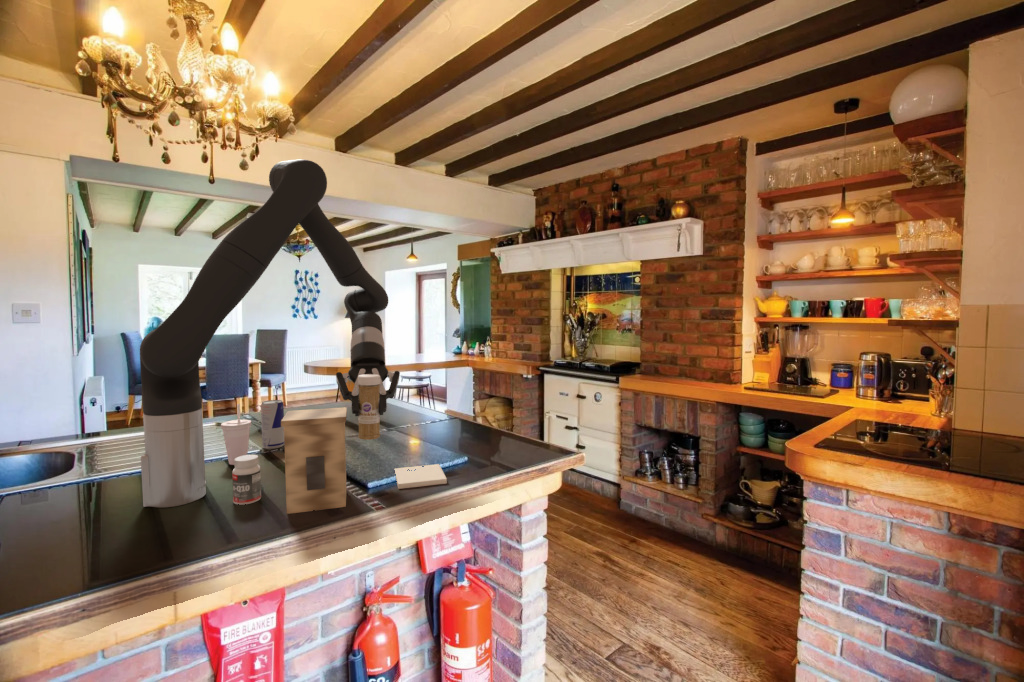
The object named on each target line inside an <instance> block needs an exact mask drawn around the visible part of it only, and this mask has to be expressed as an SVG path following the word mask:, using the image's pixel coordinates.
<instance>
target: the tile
mask: <svg viewBox="0 0 1024 682" xmlns="http://www.w3.org/2000/svg"><path fill="white" fill-rule="evenodd" d="M422 466H424V467H422ZM408 469H409V470H410V471H409V470H408ZM415 469H416V470H415ZM394 470H395V473H394V475H395V474H396V477H395V481H397V482H396V485H397V489H398V490H400V489H401V490H402V489H410V488H417V487H420V488H421V487H427V486H436V485H445V484H448V482H447V481H448V479H447V477H446V475H445V472H444V471H443V469H442V467H441V465H440V464H439V463H435V464H427V465H426V464H425V465H415V466H407V467H397V468H396V467H395V468H394V469H393V471H394ZM407 470H408V471H407ZM411 470H412V471H411ZM414 470H415V471H414Z"/></svg>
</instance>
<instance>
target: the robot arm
mask: <svg viewBox="0 0 1024 682" xmlns="http://www.w3.org/2000/svg"><path fill="white" fill-rule="evenodd" d="M268 177H269V178H268V182H269V187H270V189H271V191H272V193H271V195H270V196H269V198H268V199H267V201H266V202H264V204H262V206H261V207H260V208H259V209H257V210H255V212H254V213H252V214H251V215H249V216H248V217H247V218H245V219H244V220H243V221H241V222H240V223H239V224H237V225H236V226H235V227H234V228H233V229H231V231H229V232H228V233H227V235H225V236H224V237H223V238H222V240H221V241H220V242H219V244H218V245H216V248H215V249H214V250H213V251H212V253H210V255H209V256H208V258H207V259H206V261H205V263H204V264H203V265H202V267H201V269H200V270H199V272H198V274H197V275H196V278H195V280H194V281H193V283H192V285H191V287H190V289H189V291H188V293H187V294H186V295H185V298H183V300H182V301H181V302H180V303H179V305H178V306H177V307H176V308H175V309H174V310H173V311H172V312H171V314H170V315H169V316H168V317H167V318H165V320H164V321H163V322H162V323H161V324H160V325H158V327H157V328H155V329H153V330H151V331H150V332H149V333H147V334H146V335H145V336H144V338H143V339H142V341H141V342H140V346H139V362H140V363H139V366H140V381H141V382H140V383H141V402H142V416H143V434H144V435H143V436H144V437H143V438H144V453H143V454H142V455H141V457H140V471H141V473H140V474H141V488H142V490H141V491H142V506H143V507H144V508H146V507H152V508H170V507H171V508H172V507H178V506H182V505H187V504H190V503H193V502H196V501H199V500H200V499H201V498H203V497H205V495H206V494H207V491H206V490H207V489H206V485H207V483H206V466H205V462H206V461H205V444H204V443H205V442H204V441H205V440H204V422H203V420H204V419H203V400H202V398H203V397H202V396H203V395H202V390H201V383H200V368H199V367H200V365H199V361H200V360H201V357H202V356H203V354H204V352H205V350H206V349H207V347H208V345H209V344H210V341H211V340H212V338H213V337H214V335H215V333H216V332H217V330H218V328H219V327H220V326H221V324H222V323H223V322H224V320H225V319H226V317H228V316H229V314H230V313H231V312H232V311H233V310H234V309H235V308H236V307H237V306H238V304H240V302H241V301H242V300H243V299H244V298H245V297H246V296H247V294H248V293H249V291H250V290H251V289H252V288H253V287H254V286H255V284H257V282H258V281H259V279H260V278H261V277H262V275H263V273H264V272H265V271H266V270H267V268H268V267H269V265H270V264H271V262H272V261H273V259H274V258H275V257H276V256H277V254H278V253H279V251H281V249H282V247H283V246H284V244H285V243H286V242H287V241H288V238H289V237H290V236H291V234H292V233H293V232H294V230H295V229H296V228H297V226H298V225H300V227H301V229H303V231H304V232H305V233H306V234H307V236H308V237H309V239H310V240H311V241H312V243H313V245H315V248H316V249H317V250H318V252H319V254H320V255H321V257H322V258H323V260H324V262H325V263H326V264H327V266H328V268H329V270H330V271H331V273H332V274H333V276H334V278H335V280H336V281H337V283H338V284H339V285H340V286H341V287H345V288H346V287H359V288H357V289H354V290H351V291H349V292H348V293H346V295H345V297H344V300H343V303H344V307H345V309H346V312H347V315H348V316H349V320H350V324H351V340H350V367H349V370H348V372H344V373H342V372H341V371H338V372H336V373H335V378H336V379H335V380H336V383H337V387H338V389H339V392H340V395H341V397H342V400H344V401H347V400H348V401H350V402H351V413H352V414H353V415H354V416H355V417H358V416H359V386H358V385H359V384H358V376H359V375H363V374H377V375H380V393H379V398H380V416H383V415H384V413H386V412H387V407H388V406H387V400H388V399H394V397H395V395H396V391H397V388H398V384H399V381H400V374H401V373H400V371H399V370H395V371H394V372H392V371H389V370H388V368H387V366H386V356H385V355H386V353H385V351H386V350H385V340H384V336H383V335H384V334H383V322H382V319H381V317H380V315H379V314H378V312H382V311H384V310H385V309H387V308H388V305H389V296H388V294H387V291H386V290H385V288H384V287H383V286H382V284H380V283H379V282H378V281H377V280H376V279H375V278H374V277H373V276H372V275H371V274H370V273H369V272H368V271H367V270H366V268H365V267H364V265H363V263H362V261H361V260H360V259H359V256H358V255H357V253H356V251H355V249H354V247H353V246H352V244H351V243H350V242H349V241H348V240H347V239H346V237H345V235H343V234H342V233H341V232H340V230H338V228H337V227H335V225H334V224H333V223H332V222H331V221H330V220H329V219H328V217H327V216H326V214H325V213H324V211H323V210H322V208H321V206H320V205H319V203H320V202H321V201H322V199H323V198H324V196H325V194H326V192H327V189H328V179H327V175H326V172H325V170H324V168H322V166H321V165H320V164H318V163H317V162H315V161H313V160H309V159H303V158H302V159H301V158H297V159H289V160H283V161H282V160H281V161H279V162H276V163H275V164H274V165H273V166H272V168H271V169H270V172H269V175H268ZM387 378H388V381H389V382H390V385H389V387H388V389H385V386H384V381H386V379H387ZM348 379H350V380H351V382H352V383H353V384H354V385H353V388H352V391H350V390H349V388H348V385H347V384H348Z"/></svg>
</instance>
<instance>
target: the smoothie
mask: <svg viewBox="0 0 1024 682" xmlns="http://www.w3.org/2000/svg"><path fill="white" fill-rule="evenodd" d="M240 408H241V406H240V403H237V404H236V413H237V419H232V420H228V421H224V422H222V423H220V429H221V430H222V434H223V439H224V443H225V444H224V445H225V449H226V455H227V461H228V464H229V465H230V466H234V459H235V458H237V457H239V456H243V455H249V454H248V453H249V452H248V450H249V441H250V432H251V426H252V420H250V419H241V409H240Z"/></svg>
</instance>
